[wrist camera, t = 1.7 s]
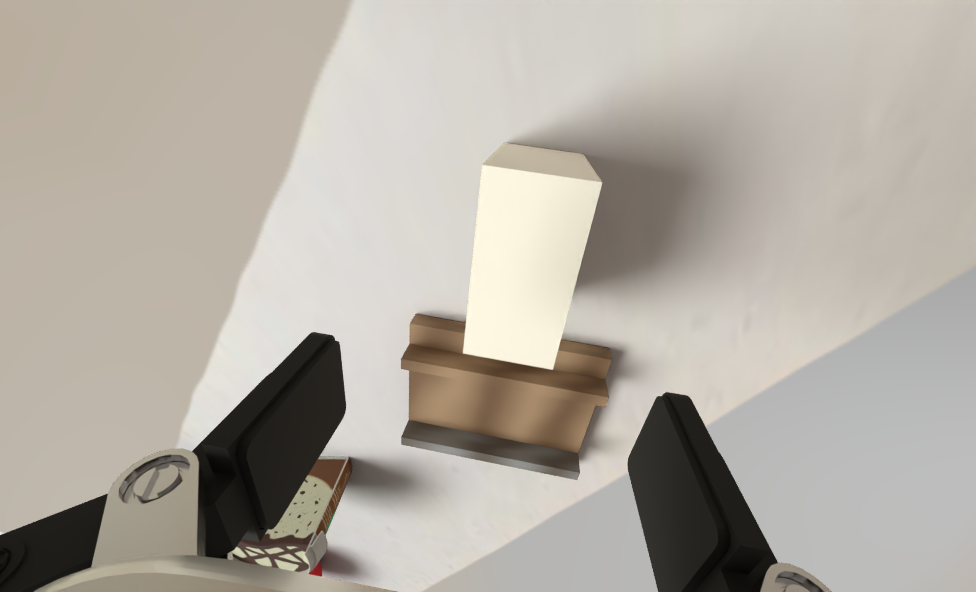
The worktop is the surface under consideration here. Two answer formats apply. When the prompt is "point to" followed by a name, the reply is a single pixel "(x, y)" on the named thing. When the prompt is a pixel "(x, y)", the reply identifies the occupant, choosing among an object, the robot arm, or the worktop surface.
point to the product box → (527, 251)
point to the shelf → (500, 400)
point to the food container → (302, 521)
